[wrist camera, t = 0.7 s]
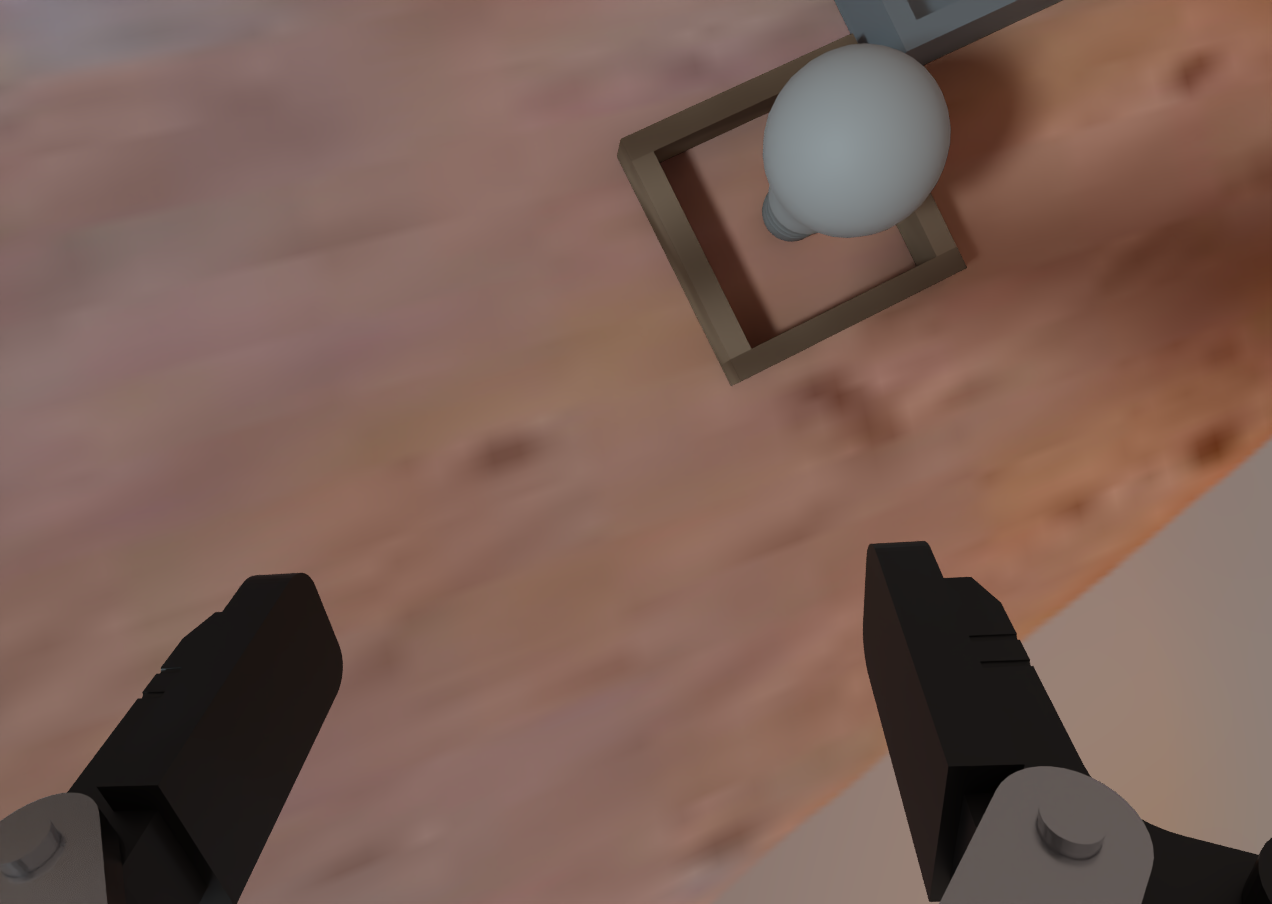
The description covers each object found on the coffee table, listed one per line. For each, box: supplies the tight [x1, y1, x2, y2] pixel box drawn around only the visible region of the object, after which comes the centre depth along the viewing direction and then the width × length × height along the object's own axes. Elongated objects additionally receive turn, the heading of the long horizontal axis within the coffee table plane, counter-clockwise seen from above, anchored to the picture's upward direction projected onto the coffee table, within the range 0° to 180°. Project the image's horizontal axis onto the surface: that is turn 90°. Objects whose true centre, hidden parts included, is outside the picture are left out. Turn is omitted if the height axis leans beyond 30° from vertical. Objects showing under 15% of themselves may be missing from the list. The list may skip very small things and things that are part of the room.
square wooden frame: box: [617, 33, 967, 386], centre depth 34 cm, size 11×11×2 cm
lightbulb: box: [762, 43, 951, 242], centre depth 29 cm, size 6×6×11 cm
